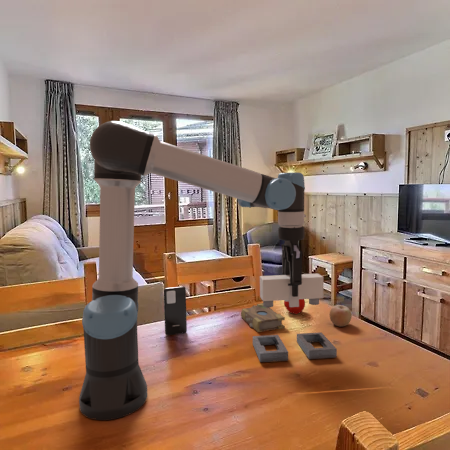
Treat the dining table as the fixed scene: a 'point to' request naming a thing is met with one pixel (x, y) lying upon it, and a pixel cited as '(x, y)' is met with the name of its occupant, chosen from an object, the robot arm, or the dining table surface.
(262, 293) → the bar
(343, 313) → the fruit
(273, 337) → the keyhole plates
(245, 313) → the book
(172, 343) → the dining table surface
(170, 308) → the smartphone
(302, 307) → the apple
